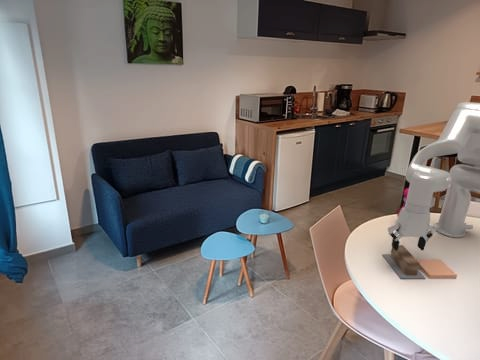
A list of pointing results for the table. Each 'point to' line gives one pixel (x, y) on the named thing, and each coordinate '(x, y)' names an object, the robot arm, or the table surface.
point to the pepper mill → (404, 199)
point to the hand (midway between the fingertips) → (407, 248)
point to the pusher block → (405, 260)
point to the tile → (436, 269)
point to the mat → (399, 271)
